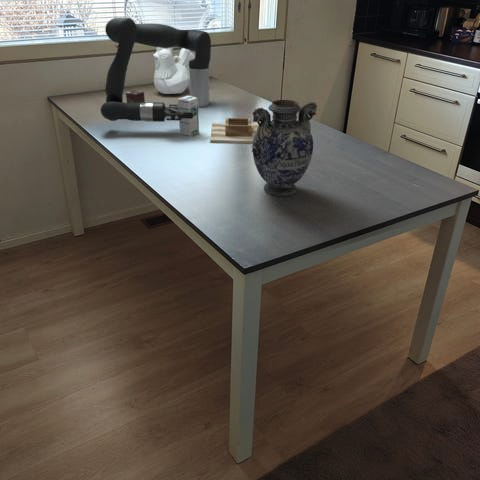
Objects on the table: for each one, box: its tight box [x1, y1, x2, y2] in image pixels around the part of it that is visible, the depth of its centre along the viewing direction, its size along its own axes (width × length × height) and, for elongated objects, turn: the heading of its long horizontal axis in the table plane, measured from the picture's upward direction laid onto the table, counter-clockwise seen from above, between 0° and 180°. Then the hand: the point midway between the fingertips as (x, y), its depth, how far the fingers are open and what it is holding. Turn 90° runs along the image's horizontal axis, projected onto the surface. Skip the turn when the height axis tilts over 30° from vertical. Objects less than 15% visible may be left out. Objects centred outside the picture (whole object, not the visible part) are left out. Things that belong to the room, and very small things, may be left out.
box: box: [125, 89, 146, 103], centre depth 244 cm, size 6×6×7 cm
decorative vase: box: [251, 99, 318, 197], centre depth 163 cm, size 21×19×28 cm
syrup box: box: [177, 95, 200, 137], centre depth 212 cm, size 6×6×14 cm
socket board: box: [209, 117, 259, 144], centre depth 215 cm, size 22×22×5 cm
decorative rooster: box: [152, 47, 195, 95], centre depth 264 cm, size 25×16×25 cm, turn 116°
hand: (193, 112), depth 211 cm, fingers closed on syrup box, 7 cm apart
